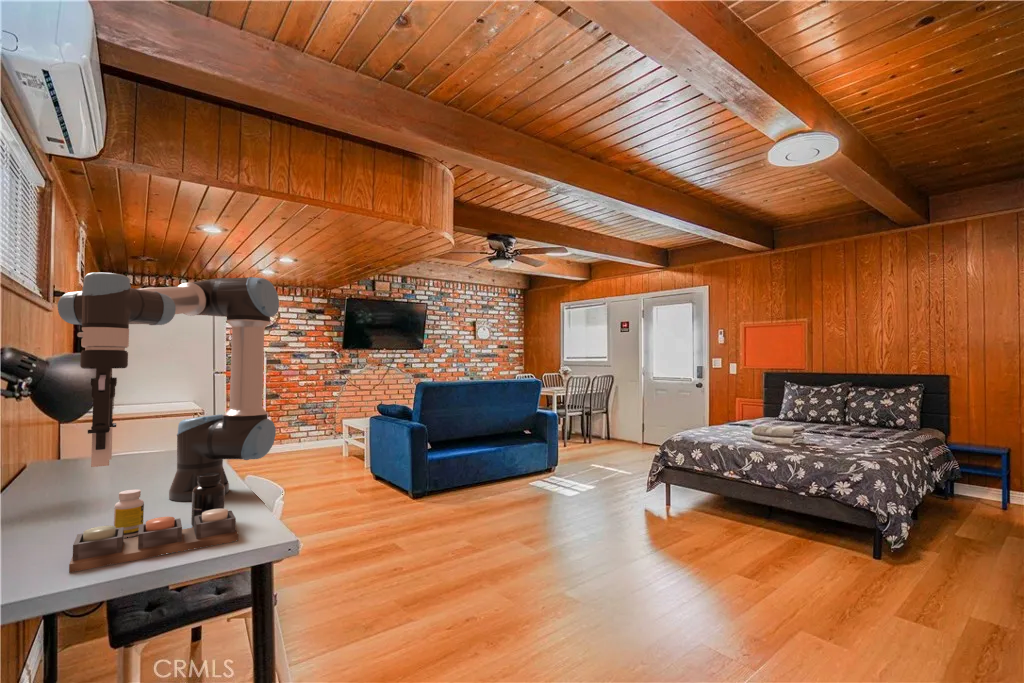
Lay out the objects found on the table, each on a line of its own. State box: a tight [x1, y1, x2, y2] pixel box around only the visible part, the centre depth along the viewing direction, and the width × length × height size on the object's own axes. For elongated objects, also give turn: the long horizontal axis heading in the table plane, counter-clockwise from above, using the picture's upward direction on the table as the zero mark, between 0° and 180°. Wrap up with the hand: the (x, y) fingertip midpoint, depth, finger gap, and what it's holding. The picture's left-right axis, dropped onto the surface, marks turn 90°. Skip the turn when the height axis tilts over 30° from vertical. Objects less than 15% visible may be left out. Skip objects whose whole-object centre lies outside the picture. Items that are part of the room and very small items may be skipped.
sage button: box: [82, 525, 116, 542], centre depth 101 cm, size 5×5×2 cm
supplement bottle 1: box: [113, 489, 145, 539], centre depth 115 cm, size 5×5×10 cm
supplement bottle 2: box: [190, 472, 226, 528], centre depth 122 cm, size 7×7×12 cm
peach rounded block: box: [202, 508, 229, 523], centre depth 112 cm, size 5×5×2 cm
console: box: [68, 510, 239, 573], centre depth 107 cm, size 28×11×4 cm, turn 126°
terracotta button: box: [145, 516, 176, 532], centre depth 107 cm, size 5×5×2 cm
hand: (101, 462), depth 101 cm, fingers open, 7 cm apart
